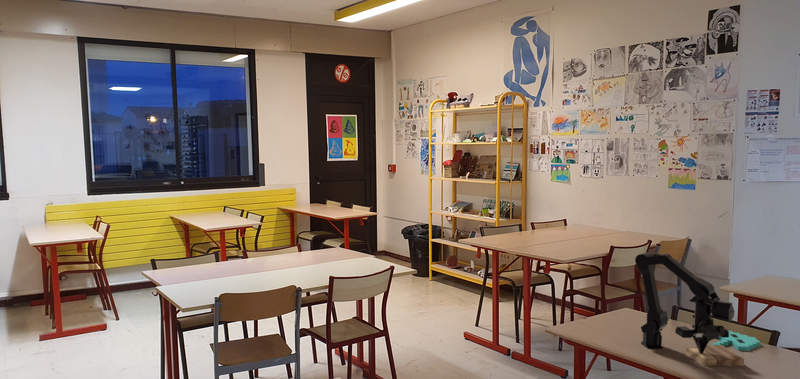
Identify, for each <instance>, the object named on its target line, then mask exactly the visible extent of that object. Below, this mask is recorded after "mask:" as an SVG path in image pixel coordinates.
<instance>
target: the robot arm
mask: <svg viewBox="0 0 800 379" xmlns="http://www.w3.org/2000/svg"><path fill="white" fill-rule="evenodd" d="M634 262H635V265H636V268H637V271H638V272H639V273H640V274H641V277H642V281H643V287H644V291H645V298H646V302H647V303H646V304H647V307H648V310H647V312H646V313H647V314H646V322H645V323H644V324H643V325H642V326H641V327H640V330H641V332H642V341H640V343H641V344H642V345H643V346H644V347H646V348H648V349H662V348H663V345H662V344H663V340H662V339H663V335H662V331H663V329H664V328H665V327H667V325H668V321H669V317H668V312H667V310H663V308H661V304H660V303H661V302H660V297H659V293H658V287H657V283H656V278H655V270H656V266H657V265H663V266H664V267H666V268H667V269H668V270H669V271H670V272H672V273H673V274H674V275H675V276H676V277H678V278H679V279H680V280H681V281H682V282H684V283H685V285H687V287H688V288H689V291H690V292H691V293H692V294H693V297H692V298H690V299H689V303H690V302H691V303H695V304H694V314H692V318H693V320H694V323H693V324H692V325H691V328H693V329H691V328H689V327H687V326H676V328H675V334H676V335H678V336H679V337H681V338H683V339H692V338H693V341H694V343H695V345H696V347H697V348H698V350H699V352H700V353H703V352H704V350H705V348H706V346H707V345H708V344H709V342H711V341H712V340H720V339H719V336H721V337H729V331H730V330H728V329H726V328H725V326H723V325H717V324H716V325H715V324H714V319H713V318H712V316H713V317H714V318H715V319H721V320H725V321H728V322H732V321H733V319H734V317H735V309H734V306H733V302H729V301H724V300H721V298H720V297H719V295H718V294H717V292H716V291H715V287H714V285H713V284H712V283H710V282H708V281H707V280H705V279H703V278H701V277H700V276H699V277H698V276H697V275H695V274H693V273H692V272H691V270H688V269H687V268H686V267H685V266H684V265H682V264H681V263H680V262H679V261H677V260H676V259H675V258H674V257H673V256H672V255H671V254H669V253H663V254H661V253H655V254H654V253H652V252H648V251H647V252H643V253H639V254H638V255H637V256H635V258H634Z"/></svg>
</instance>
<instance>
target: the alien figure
mask: <svg viewBox="0 0 800 379" xmlns="http://www.w3.org/2000/svg"><path fill="white" fill-rule="evenodd" d="M728 331H729V337H721V336H719V339H718V340H717V341H716V342H712V345H722V346H724V347H729V345H730V344H732V345H731V346H733V348H734V349H736V350H737V351H741V352H742V351H744V352H751V350H752V349H753V350H754V349H757V348H758V347H760V346H761V347H762V343H761V341H760V340H758V339H757V338H756V337H754V336H749V335H748V334H741V333H739V332H733V331H732V330H728ZM719 340H720V341H719Z"/></svg>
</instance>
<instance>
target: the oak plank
mask: <svg viewBox="0 0 800 379" xmlns="http://www.w3.org/2000/svg"><path fill="white" fill-rule="evenodd" d="M686 355H688V356H689V357H690V358H692V359H694V360H695V361H696V362H697V363H700V364H701V365H703V366H704V367H708V366H709V367H711V366H717V358H715V357H714V356H712V355H710V354H709V353H707V352H705V351H704V352H703V353H700V352H699V350H698V348H697V346H695V347H686Z"/></svg>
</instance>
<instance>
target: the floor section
mask: <svg viewBox="0 0 800 379" xmlns="http://www.w3.org/2000/svg"><path fill="white" fill-rule="evenodd" d="M704 351H705V352H707V353H709V354H710V355H712V356H714V357H715V358H717V365H716V366H717V367H744V366H745V358H744V357H742V356H741V355H739V354H737V353H736V352H734V351H732V350H730V349H729V348H727V347H726V346H722V345H713V344H710V345H708V344H707V346H706V348H705V350H704Z"/></svg>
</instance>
